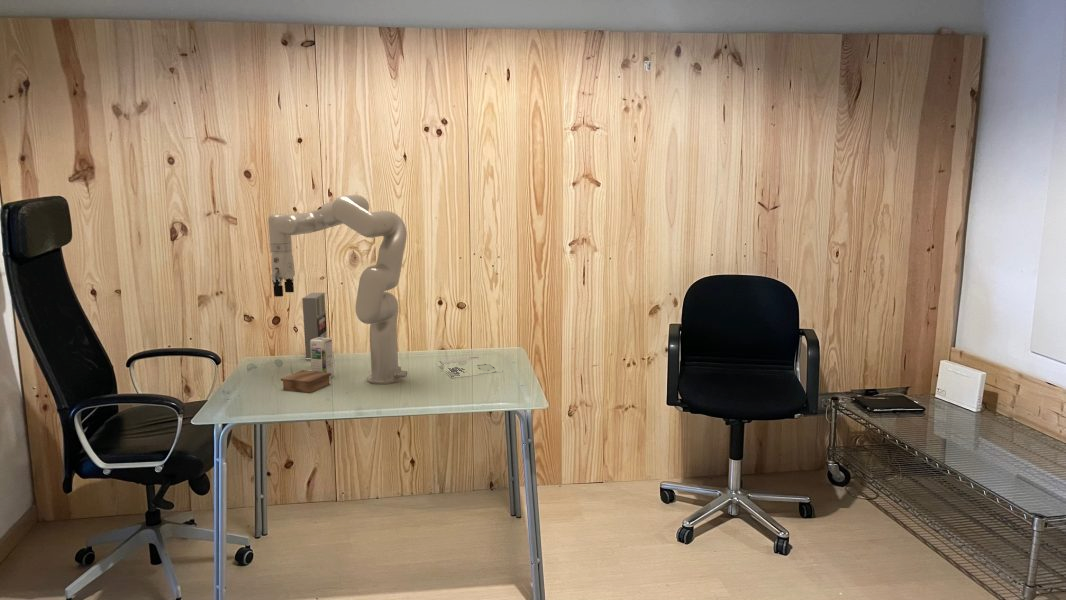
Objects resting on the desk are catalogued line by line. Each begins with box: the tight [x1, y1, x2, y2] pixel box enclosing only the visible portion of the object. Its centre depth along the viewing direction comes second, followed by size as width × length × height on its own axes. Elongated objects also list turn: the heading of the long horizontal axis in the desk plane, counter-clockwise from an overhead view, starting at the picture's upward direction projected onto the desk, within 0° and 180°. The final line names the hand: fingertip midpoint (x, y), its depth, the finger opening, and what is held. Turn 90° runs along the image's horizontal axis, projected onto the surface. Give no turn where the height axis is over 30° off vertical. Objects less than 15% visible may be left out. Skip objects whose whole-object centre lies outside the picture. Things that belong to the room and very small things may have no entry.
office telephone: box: [438, 356, 481, 377], centre depth 292 cm, size 23×3×20 cm
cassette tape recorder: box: [302, 292, 328, 359], centre depth 311 cm, size 14×6×25 cm, turn 0°
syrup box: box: [310, 337, 334, 379], centre depth 279 cm, size 6×6×14 cm
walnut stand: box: [280, 369, 331, 393], centre depth 268 cm, size 12×12×4 cm
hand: (284, 294), depth 286 cm, fingers open, 9 cm apart
